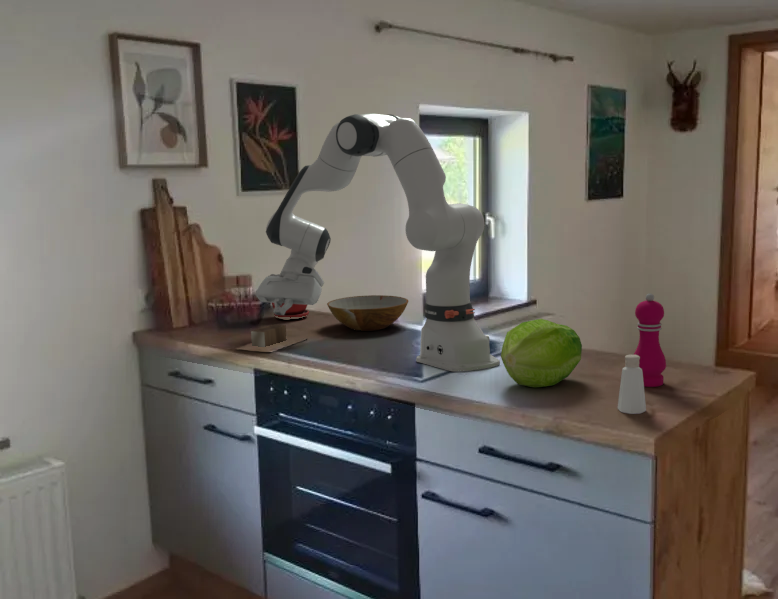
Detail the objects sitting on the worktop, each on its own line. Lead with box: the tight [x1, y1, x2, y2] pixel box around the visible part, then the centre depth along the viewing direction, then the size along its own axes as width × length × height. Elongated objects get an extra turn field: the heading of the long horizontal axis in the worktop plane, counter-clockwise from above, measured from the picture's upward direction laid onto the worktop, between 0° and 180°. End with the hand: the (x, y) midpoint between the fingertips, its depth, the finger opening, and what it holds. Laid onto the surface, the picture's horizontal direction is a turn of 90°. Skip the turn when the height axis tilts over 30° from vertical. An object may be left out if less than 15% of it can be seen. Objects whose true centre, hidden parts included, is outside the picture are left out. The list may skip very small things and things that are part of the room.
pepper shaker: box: [617, 354, 647, 415], centre depth 159 cm, size 5×5×11 cm
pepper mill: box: [633, 293, 667, 388], centre depth 177 cm, size 7×7×20 cm
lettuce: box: [500, 318, 583, 388], centre depth 180 cm, size 15×23×16 cm
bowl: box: [326, 294, 409, 332], centre depth 250 cm, size 25×25×8 cm
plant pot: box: [270, 303, 310, 318], centre depth 269 cm, size 13×13×12 cm
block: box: [250, 323, 287, 347], centre depth 229 cm, size 4×4×10 cm
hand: (278, 313), depth 233 cm, fingers closed
